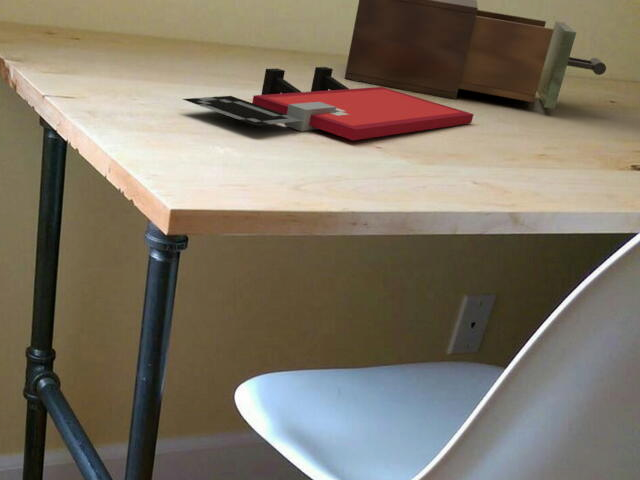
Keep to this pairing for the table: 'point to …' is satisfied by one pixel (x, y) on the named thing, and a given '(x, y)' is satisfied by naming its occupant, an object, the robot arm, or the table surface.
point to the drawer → (520, 58)
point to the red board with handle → (336, 108)
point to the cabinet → (412, 44)
